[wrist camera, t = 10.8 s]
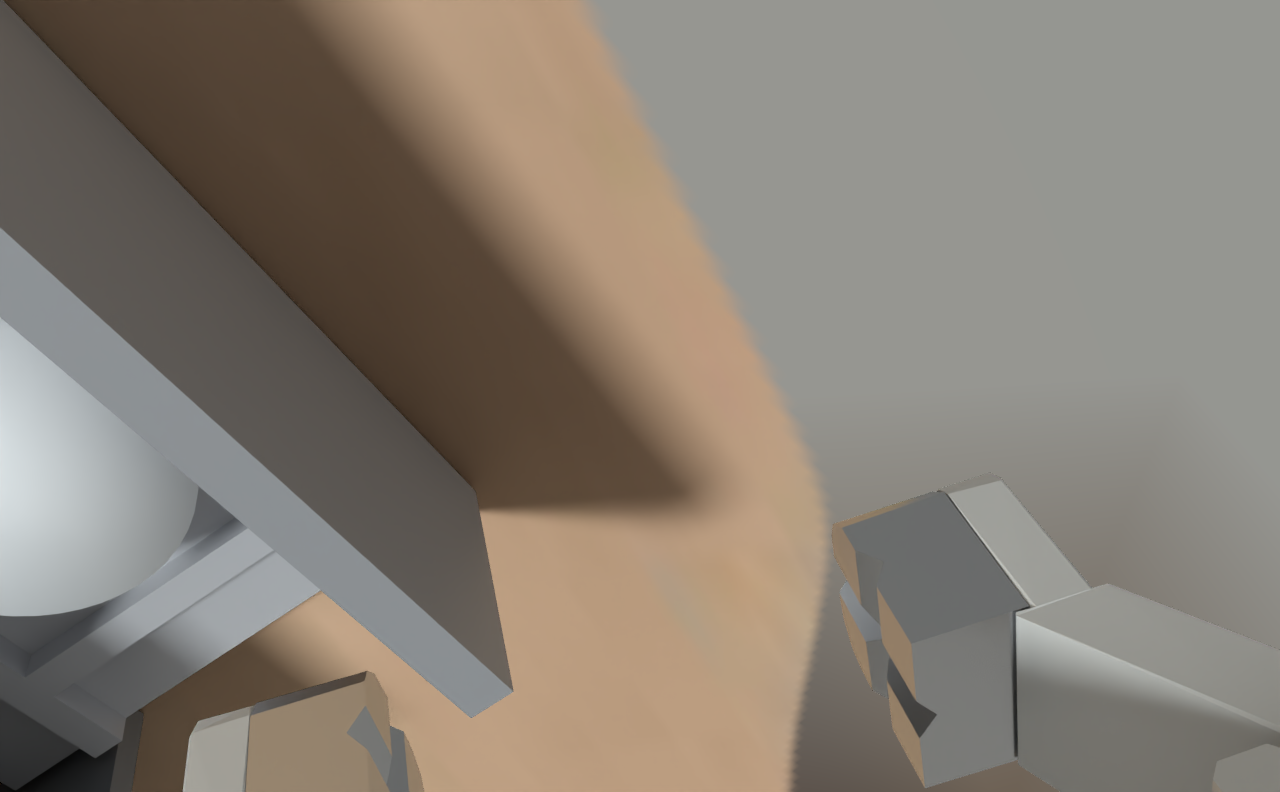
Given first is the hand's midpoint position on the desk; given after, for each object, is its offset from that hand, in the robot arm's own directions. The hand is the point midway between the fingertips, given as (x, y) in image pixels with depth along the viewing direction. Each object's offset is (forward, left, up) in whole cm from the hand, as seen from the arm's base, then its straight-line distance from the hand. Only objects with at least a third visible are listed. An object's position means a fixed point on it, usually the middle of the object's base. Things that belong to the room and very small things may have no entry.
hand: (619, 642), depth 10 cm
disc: (0, +10, -14) cm, 17 cm away
